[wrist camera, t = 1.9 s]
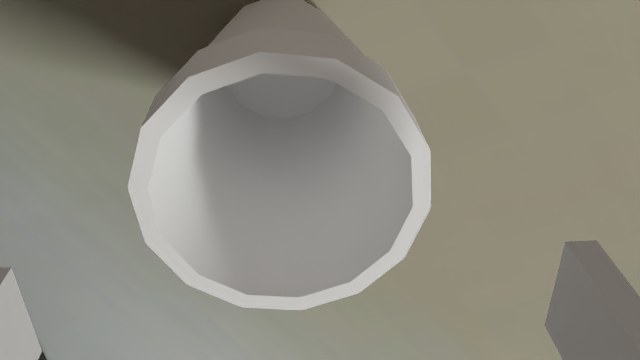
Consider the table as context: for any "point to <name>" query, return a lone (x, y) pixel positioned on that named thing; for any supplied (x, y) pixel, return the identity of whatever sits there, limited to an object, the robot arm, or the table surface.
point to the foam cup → (280, 164)
